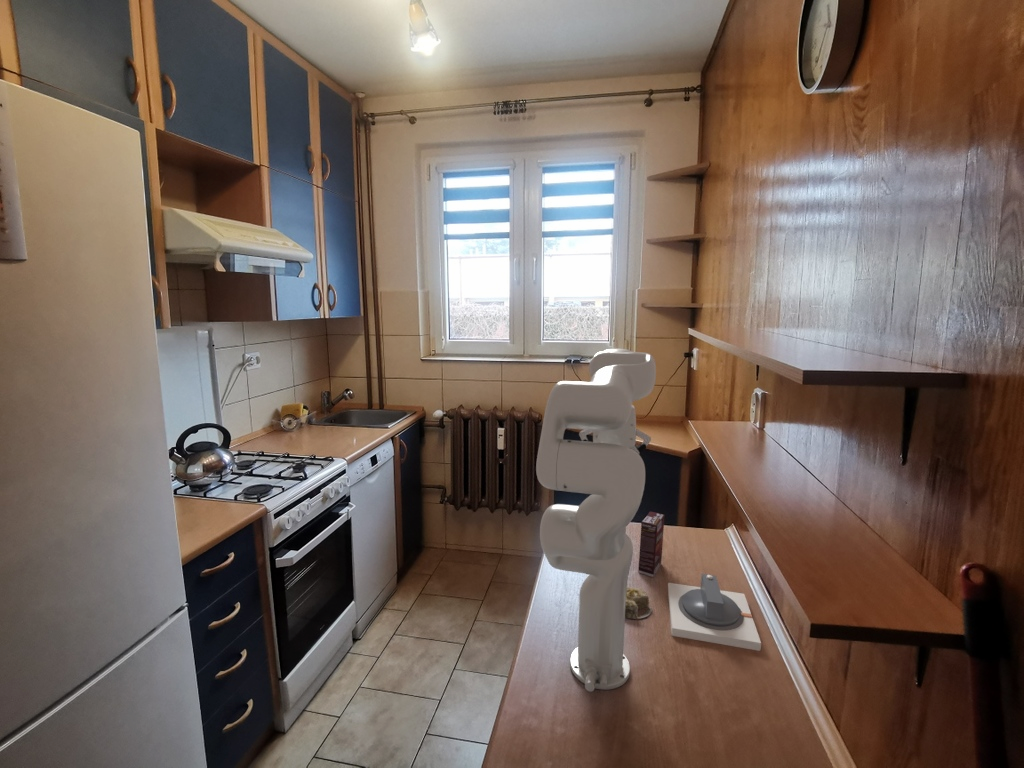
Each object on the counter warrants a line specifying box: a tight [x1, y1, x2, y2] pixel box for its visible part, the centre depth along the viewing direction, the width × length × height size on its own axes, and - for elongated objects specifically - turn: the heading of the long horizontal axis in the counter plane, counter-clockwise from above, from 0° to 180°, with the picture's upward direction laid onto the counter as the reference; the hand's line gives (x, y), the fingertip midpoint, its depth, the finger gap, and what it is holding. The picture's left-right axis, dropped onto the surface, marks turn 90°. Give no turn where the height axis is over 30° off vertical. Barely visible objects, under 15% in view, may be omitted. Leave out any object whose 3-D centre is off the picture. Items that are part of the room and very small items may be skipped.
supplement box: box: [637, 511, 665, 578], centre depth 140 cm, size 9×5×16 cm, turn 148°
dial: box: [683, 573, 740, 626], centre depth 118 cm, size 13×13×6 cm
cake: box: [625, 586, 653, 620], centre depth 123 cm, size 10×10×5 cm
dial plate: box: [667, 582, 762, 652], centre depth 119 cm, size 19×19×2 cm
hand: (613, 467), depth 119 cm, fingers open, 9 cm apart
